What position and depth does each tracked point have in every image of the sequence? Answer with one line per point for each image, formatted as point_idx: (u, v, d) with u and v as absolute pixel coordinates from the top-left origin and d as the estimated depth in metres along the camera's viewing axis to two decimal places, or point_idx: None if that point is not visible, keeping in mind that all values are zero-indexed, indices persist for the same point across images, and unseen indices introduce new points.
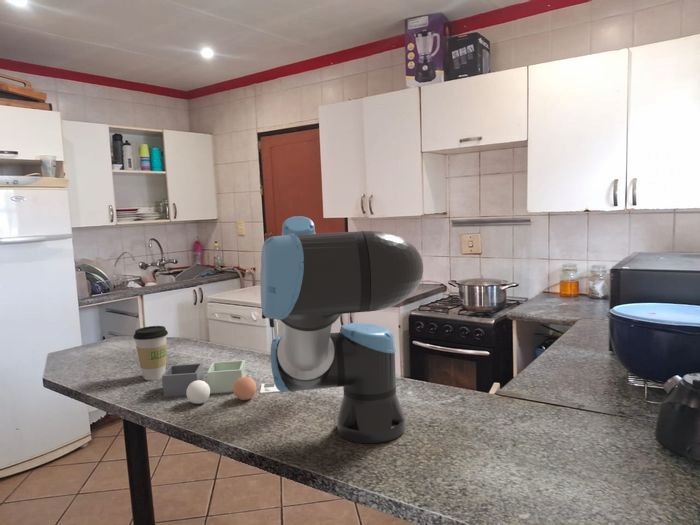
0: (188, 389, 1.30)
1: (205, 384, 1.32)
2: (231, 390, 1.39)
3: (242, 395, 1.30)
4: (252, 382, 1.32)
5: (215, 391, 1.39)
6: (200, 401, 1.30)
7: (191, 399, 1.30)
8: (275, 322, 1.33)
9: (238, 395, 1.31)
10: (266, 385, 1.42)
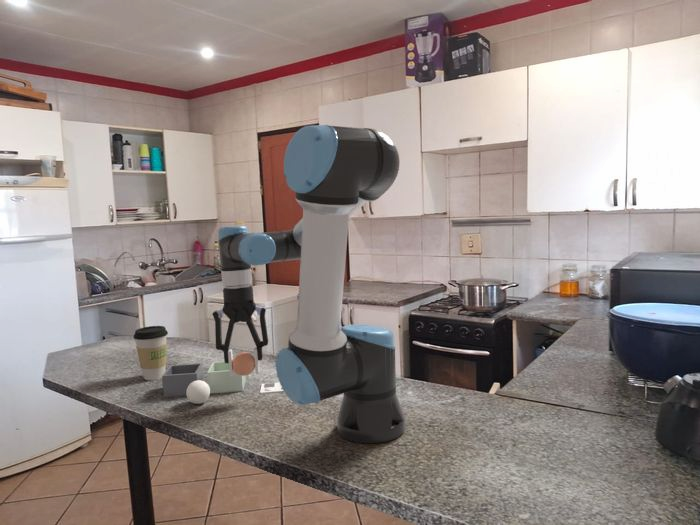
0: (188, 389, 1.30)
1: (205, 384, 1.32)
2: (231, 390, 1.39)
3: (242, 370, 1.29)
4: (251, 357, 1.31)
5: (215, 391, 1.39)
6: (200, 401, 1.30)
7: (191, 399, 1.30)
8: (229, 354, 1.30)
9: (237, 370, 1.29)
10: (266, 385, 1.42)
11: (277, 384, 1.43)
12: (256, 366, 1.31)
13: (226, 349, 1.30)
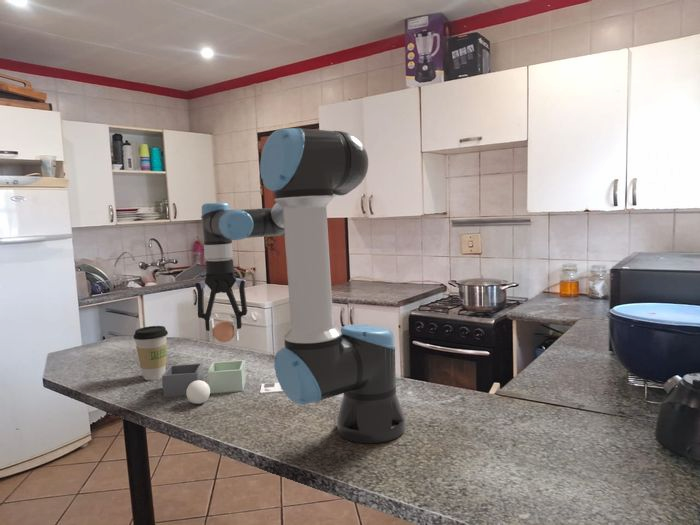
0: (188, 389, 1.30)
1: (205, 384, 1.32)
2: (231, 390, 1.39)
3: (221, 336, 1.39)
4: (231, 325, 1.41)
5: (215, 391, 1.39)
6: (200, 401, 1.30)
7: (191, 399, 1.30)
8: (210, 322, 1.40)
9: (217, 337, 1.39)
10: (266, 385, 1.42)
11: (277, 384, 1.43)
12: (235, 334, 1.41)
13: (207, 317, 1.40)
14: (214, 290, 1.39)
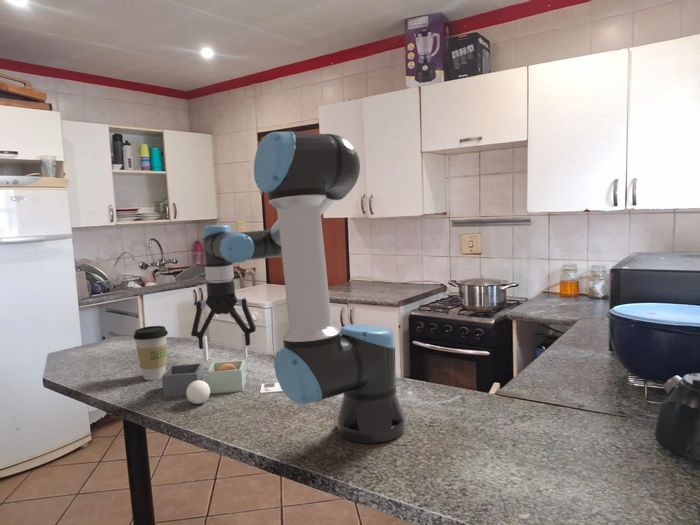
0: (188, 389, 1.30)
1: (205, 384, 1.32)
2: (231, 390, 1.39)
3: None
4: (234, 368, 1.42)
5: (215, 391, 1.39)
6: (200, 401, 1.30)
7: (191, 399, 1.30)
8: (204, 340, 1.40)
9: None
10: (266, 385, 1.42)
11: (277, 384, 1.43)
12: (244, 351, 1.42)
13: (201, 336, 1.40)
14: (214, 311, 1.40)
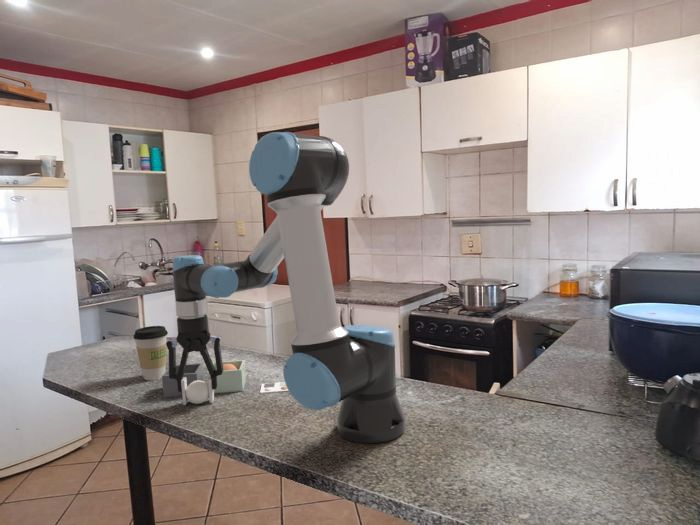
0: (188, 389, 1.30)
1: (205, 383, 1.32)
2: (231, 390, 1.39)
3: None
4: (234, 369, 1.42)
5: (215, 391, 1.39)
6: (200, 401, 1.30)
7: (191, 399, 1.30)
8: (183, 383, 1.30)
9: None
10: (266, 385, 1.42)
11: (277, 384, 1.43)
12: (210, 395, 1.31)
13: (179, 378, 1.30)
14: (186, 349, 1.29)
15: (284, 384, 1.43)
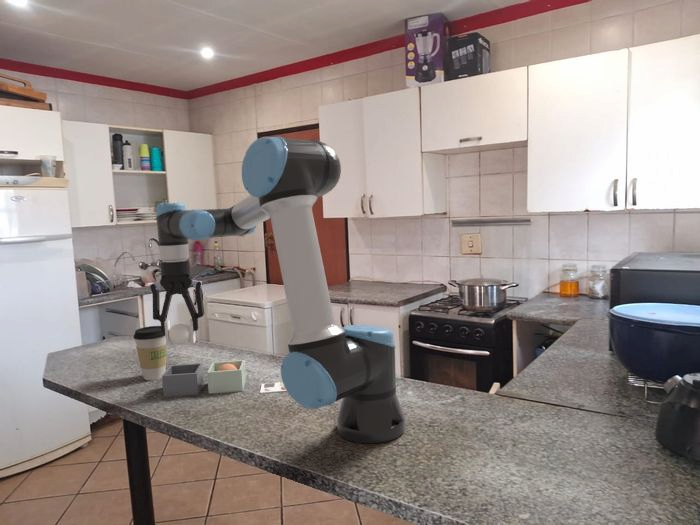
0: (170, 330, 1.38)
1: (187, 325, 1.39)
2: (231, 390, 1.39)
3: None
4: (234, 369, 1.42)
5: (215, 391, 1.39)
6: (182, 341, 1.38)
7: (173, 339, 1.37)
8: (166, 324, 1.38)
9: None
10: (266, 385, 1.42)
11: (277, 384, 1.43)
12: (191, 336, 1.39)
13: (163, 319, 1.38)
14: (169, 291, 1.37)
15: None
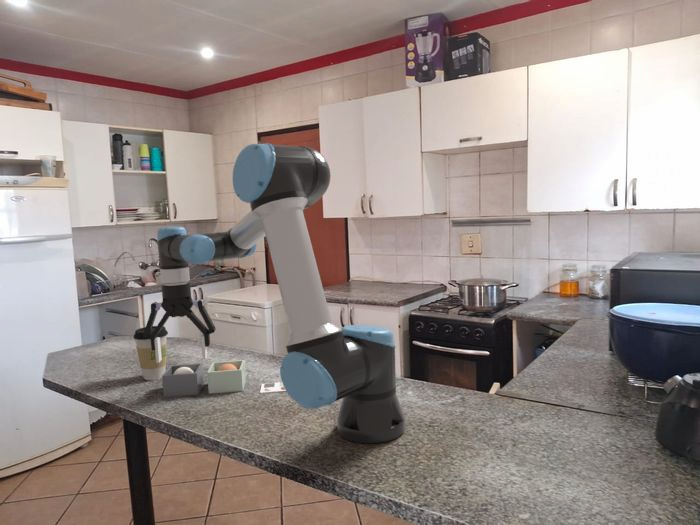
0: None
1: (190, 370, 1.42)
2: (231, 390, 1.39)
3: None
4: (234, 369, 1.42)
5: (215, 391, 1.39)
6: None
7: None
8: (156, 342, 1.39)
9: None
10: (266, 385, 1.42)
11: (277, 384, 1.43)
12: (203, 352, 1.41)
13: (153, 337, 1.39)
14: (168, 314, 1.38)
15: None
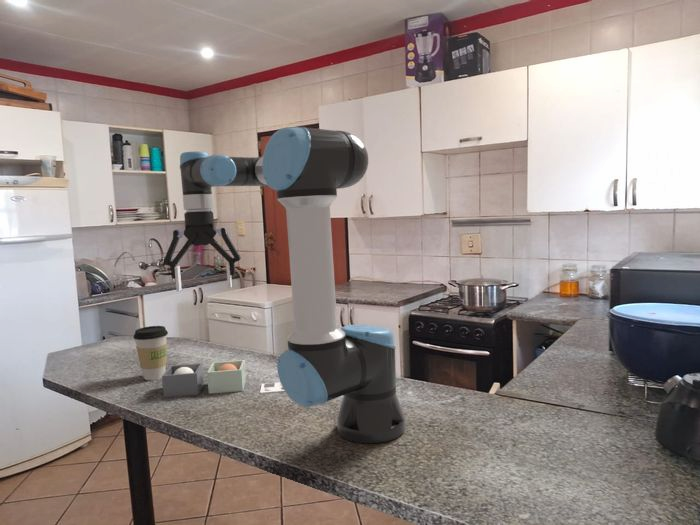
0: None
1: (190, 370, 1.42)
2: (231, 390, 1.39)
3: None
4: (235, 369, 1.42)
5: (215, 391, 1.39)
6: None
7: None
8: (176, 269, 1.36)
9: None
10: (266, 385, 1.42)
11: (277, 384, 1.43)
12: (228, 280, 1.37)
13: (173, 265, 1.36)
14: (190, 241, 1.35)
15: None
